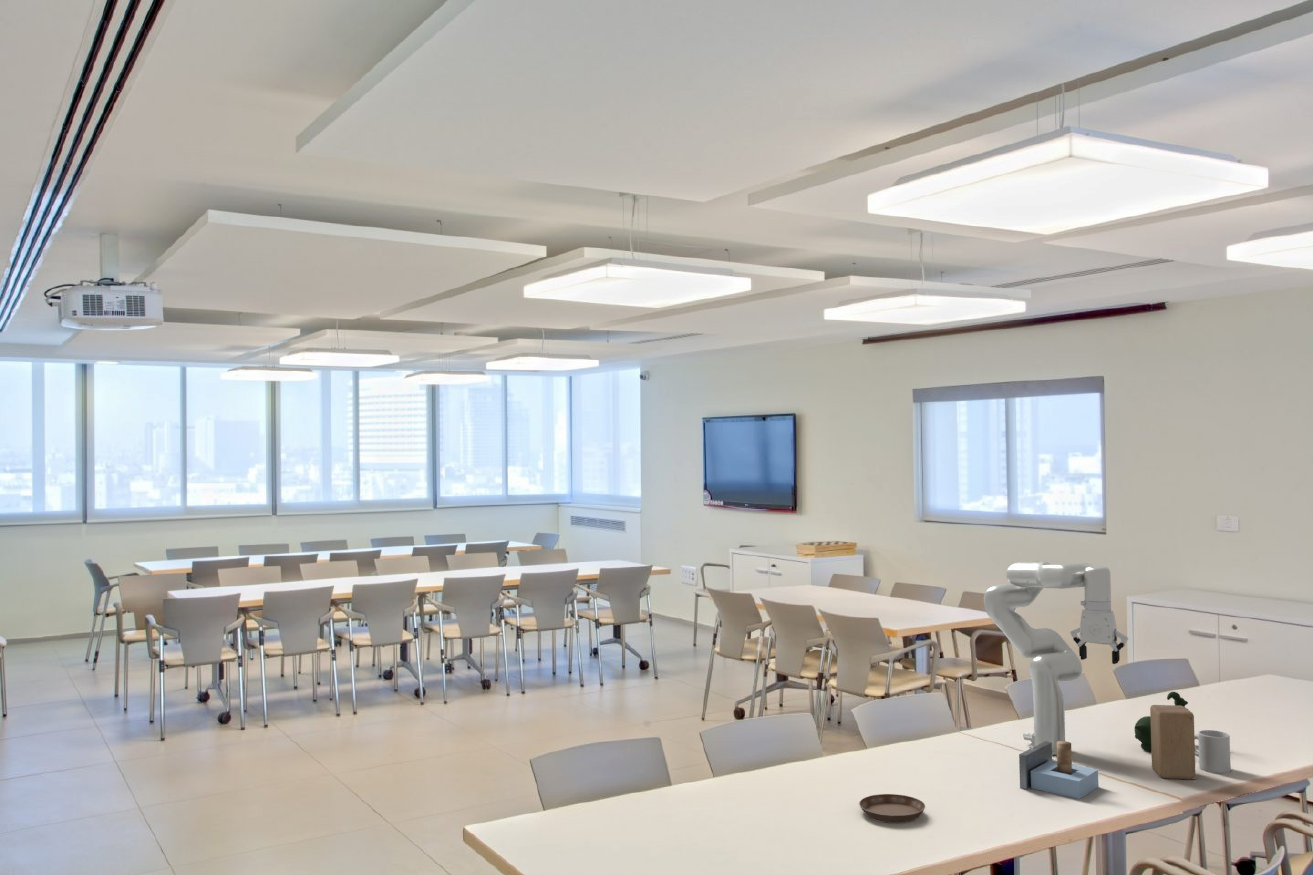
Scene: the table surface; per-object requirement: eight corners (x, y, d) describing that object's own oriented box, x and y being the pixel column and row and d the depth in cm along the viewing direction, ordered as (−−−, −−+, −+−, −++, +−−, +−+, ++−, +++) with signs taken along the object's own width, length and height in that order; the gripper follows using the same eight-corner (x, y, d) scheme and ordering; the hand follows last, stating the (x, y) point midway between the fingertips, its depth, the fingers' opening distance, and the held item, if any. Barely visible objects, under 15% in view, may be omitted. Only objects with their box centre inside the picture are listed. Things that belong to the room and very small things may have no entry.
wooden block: (1196, 780, 296) (1194, 713, 296) (1160, 778, 298) (1158, 711, 298) (1186, 770, 306) (1184, 704, 306) (1151, 768, 308) (1149, 703, 308)
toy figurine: (1169, 744, 338) (1121, 749, 326) (1170, 688, 339) (1123, 690, 327) (1195, 751, 330) (1147, 756, 318) (1197, 693, 331) (1149, 696, 319)
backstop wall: (1019, 788, 291) (1019, 754, 292) (1046, 773, 304) (1045, 741, 304) (1026, 789, 290) (1025, 755, 290) (1052, 775, 303) (1051, 742, 303)
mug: (1236, 770, 304) (1235, 734, 304) (1219, 775, 300) (1218, 738, 300) (1199, 760, 315) (1198, 725, 315) (1182, 764, 311) (1181, 729, 311)
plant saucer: (847, 809, 278) (846, 798, 278) (901, 800, 284) (900, 789, 284) (882, 830, 261) (882, 818, 261) (939, 820, 267) (938, 809, 267)
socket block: (1031, 787, 291) (1030, 770, 291) (1051, 776, 301) (1050, 759, 301) (1079, 798, 281) (1078, 781, 281) (1098, 786, 291) (1098, 769, 291)
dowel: (1055, 784, 291) (1054, 742, 291) (1060, 780, 294) (1059, 740, 294) (1068, 787, 288) (1067, 745, 288) (1074, 783, 291) (1073, 742, 291)
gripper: (1065, 604, 313) (1066, 659, 313) (1122, 610, 301) (1123, 666, 301) (1075, 602, 318) (1076, 655, 318) (1131, 607, 306) (1132, 663, 306)
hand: (1099, 661), depth 309 cm, fingers open, 9 cm apart
